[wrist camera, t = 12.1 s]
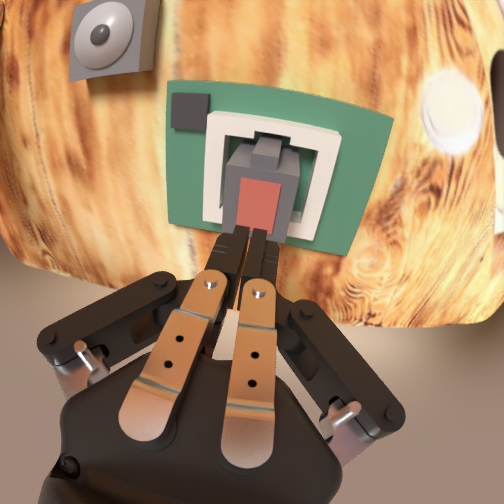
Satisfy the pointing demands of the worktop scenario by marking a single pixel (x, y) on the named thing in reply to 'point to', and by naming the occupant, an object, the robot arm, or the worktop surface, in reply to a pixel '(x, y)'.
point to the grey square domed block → (112, 38)
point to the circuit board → (294, 135)
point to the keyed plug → (261, 187)
